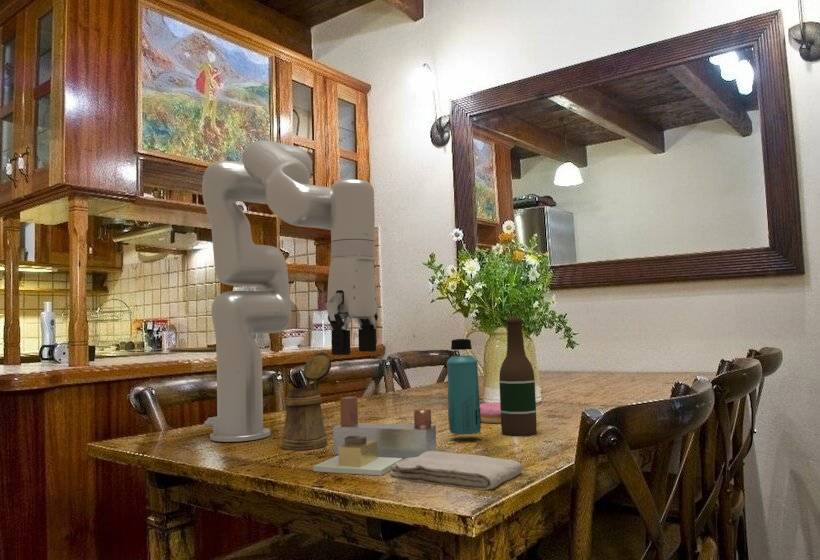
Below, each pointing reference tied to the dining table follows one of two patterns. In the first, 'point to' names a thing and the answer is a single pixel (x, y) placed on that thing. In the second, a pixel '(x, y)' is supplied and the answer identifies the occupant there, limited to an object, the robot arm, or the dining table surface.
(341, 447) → the beige block
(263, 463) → the dining table surface
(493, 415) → the doughnut
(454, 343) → the beverage bottle
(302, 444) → the wooden utensil holder
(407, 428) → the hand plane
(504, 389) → the beer bottle
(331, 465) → the mat
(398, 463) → the washcloth
